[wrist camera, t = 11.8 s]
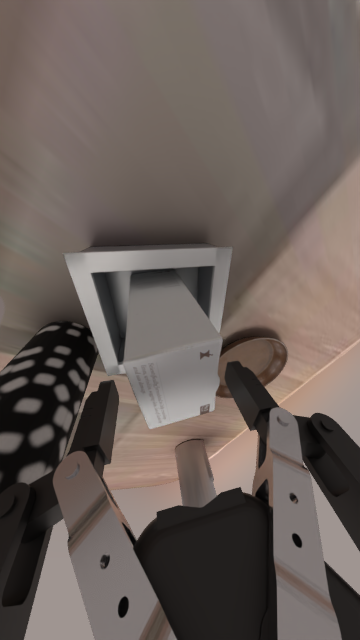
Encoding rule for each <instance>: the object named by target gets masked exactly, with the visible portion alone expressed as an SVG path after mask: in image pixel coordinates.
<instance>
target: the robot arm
mask: <svg viewBox="0 0 360 640" xmlns="http://www.w3.org/2000/svg"><path fill="white" fill-rule="evenodd" d="M224 378H225V382H226V385H227V387H228V389H229V391H230V393H231V395H232V396H233V398H234V400H235V402H236V404H237V406H238V408H239V410H240V412H241V414H242V416H243V418H244V420H245V422H246V424H247V425H248V427H249V429H250V431H251V430H257V432H258V445H257V459H256V460H257V461H256V472H255V476H254V480H253V488H252V495H250V494H247V493H243V492H242V490H241V488H240V487H239V488H235V489H232V490H228V491H225V492H222V493H220V494H219V495H218V496H217V495H216V491H215V488H214V484H213V480H214V478H213V474H212V471H211V467H210V463H209V460H208V456H207V453H206V449H205V445H204V442H203V440H190V441H187V442H184V443H182V444H180V445H178V446H177V447H176V449H175V455H176V462H177V469H178V476H179V482H180V490H181V497H182V504H183V506H175V507H172V508H168V509H165V510H162V511H158V512H157V518H155V519H154V520H153V521H152V522H151V523H150V524H149V525H148V526H147V527H146V528H145V529H144V531H143V532H142V534H141V535H140V537H139V538H138V540H137V539H136V537H135V535H134V534H133V532H132V530H131V528H130V526H129V524H128V522H127V520H126V519H125V517H124V515H123V514H122V512H121V510H120V509H119V507H118V505H117V503H116V501H115V499H114V497H113V495H112V493H111V491H110V489H109V488H108V486H107V484H106V482H105V480H104V478H103V470H104V465H106V464H111V457H112V449H113V442H114V435H115V427H116V420H117V413H118V405H119V395H118V391H117V388H116V385H115V382H114V380H109V381H103V382H100V385H99V388H98V391H96V392H92V393H91V394H90V396H89V397H88V398H87V400H86V402H85V405H84V408H83V411H82V414H81V419H80V420H79V423H78V426H77V430H76V433H75V436H74V439H73V442H72V445H71V448H70V451H69V453H68V455H67V456H66V458H64V459H63V460H62V462H61V463H60V464H59V466H58V467H57V468H55V469H54V470H53V471H51V472H50V473H48V474H46V475H44V476H43V477H41V478H39V479H37V480H36V481H34V482H32V483H30V484H29V485H28V484H26V483H24V482H20V483H16V484H14V485H12V486H10V487H8V488H7V489H6V490H4V491H3V492H2V493H1V494H0V640H24V636H25V633H26V629H27V625H28V621H29V617H30V613H31V609H32V605H33V602H34V598H35V594H36V590H37V586H38V582H39V579H40V575H41V571H42V567H43V563H44V559H45V555H46V551H47V548H48V544H49V540H50V536H51V532H52V528H53V525H55V524H56V523H58V522H59V521H61V520H62V519H63V518H64V521H65V524H66V527H67V530H68V534H69V539H68V550H69V555H70V558H71V561H72V565H73V568H74V572H75V575H76V578H77V582H78V585H79V588H80V592H81V595H82V598H83V602H84V605H85V608H86V612H87V615H88V618H89V621H90V625H91V628H92V632H93V635H94V638H95V640H360V595H359V594H358V593H357V592H356V591H355V590H354V589H353V588H352V587H351V586H350V585H349V584H348V583H347V582H345V581H344V580H343V579H342V578H341V577H340V576H339V575H338V574H337V573H336V572H335V571H334V570H333V569H332V568H331V567H330V566H329V565H328V564H327V563H326V562H325V561H324V558H323V552H322V545H321V539H320V532H319V526H318V519H317V513H316V506H315V500H314V494H313V487H312V481H311V476H310V473H311V474H312V476H313V477H314V479H315V481H316V482H317V484H318V485H319V487H320V489H321V490H322V492H323V493H324V495H325V497H326V498H327V500H328V501H329V503H330V505H331V506H332V508H333V509H334V511H335V513H336V514H337V516H338V517H339V519H340V521H341V522H342V524H343V525H344V527H345V529H346V530H347V532H348V533H349V535H350V537H351V538H352V540H353V541H354V543H355V545H356V546H357V548H358V549H359V551H360V447H359V446H358V445H357V444H356V443H355V442H354V441H353V440H352V439H351V438H350V436H349V435H348V434H347V433H346V432H345V431H344V430H343V429H342V428H341V427H340V426H339V424H337V422H335V421H334V420H333V419H332V418H330V417H329V416H327V415H324V414H321V413H315V414H313V415H312V416H311V417H310V418H308V417H301V416H294V415H292V414H291V413H290V412H288V411H287V410H285V409H283V408H280V407H279V406H278V405H277V403H276V402H275V401H274V399H273V398H272V397H271V395H270V394H269V393H268V391H267V390H266V389H265V387H264V386H263V385H262V383H261V382H260V381H259V379H258V378H257V377H256V375H255V374H254V372H253V371H251V370H250V369H249V368H247V367H243V366H242V365H241V363H240V362H239V361H232V362H228V363H227V366H226V371H225V376H224ZM303 461H304V463H305V465H306V466H307V468H308V469H309V471H310V473H309V471H308V469H307V468H305V467H304V465H303Z"/></svg>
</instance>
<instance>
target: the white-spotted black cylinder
mask: <svg viewBox="0 0 360 640" xmlns="http://www.w3.org/2000/svg"><path fill="white" fill-rule="evenodd" d="M98 352H99V351H98V348H97V345H96V342H95V340H94V337H93V334H92V332H91V330H89V329H88V328H86V327H84V326H82V325H80V324H77V323H73V322H54V323H50V324H48V325H46V326H44V327H43V328H42V329H41V330H40V331H39V332H38V333H37V334H36V335H35V336H34V337H33V338H32V339H31V340H30V341H29V342H28V343H27V344H26V345H25V346H24V348H23V349H22V350H21V351H20V352H19V353H18V354H17V355H16V356H15V357H14V358H13V359H12V360H11V361H10V362H9V363H8V364H7V366H6V367H5V368H4V369H3V370H2V371H1V372H0V494H1V493H2V492H3V491H4V490H6V489H7V488H8V487H10V486H12V485H14V484H16V483H20V482H24V483H26V484H28V485H29V484H30V483H32V482H34V481H36V480H37V479H39V478H41V477H43V476H44V475H46V474H48V473H50V472H51V471H53V470H54V469H55V468H57V467H58V466H59V464H60V463H61V462H62V459H63V456H64V453H65V450H66V447H67V444H68V441H69V438H70V436H71V433H72V430H73V427H74V424H75V421H76V418H77V415H78V412H79V409H80V406H81V403H82V400H83V397H84V394H85V391H86V388H87V385H88V382H89V379H90V376H91V373H92V370H93V367H94V364H95V361H96V358H97V355H98Z"/></svg>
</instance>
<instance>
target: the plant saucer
mask: <svg viewBox="0 0 360 640" xmlns="http://www.w3.org/2000/svg"><path fill="white" fill-rule="evenodd" d="M287 359H288V350H287V347H286V346H285V345H284V343H282V342H281V341H279V340H277V339H273V338H269V337H248V338H244V339H240V340H238V341H235V342H233V343H231V344H230V345H228V346H226V347H225V348H224V349H223V350H221V352H220V357H219V365H218V376H219V378H220V383H219V387H218V389H217V391H216V396H218V397H221V398H233V396H232V395H231V393H230V391H229V389H228V387H227V385H226V382H225V378H224V376H225V371H226V366H227V363H228V362H232V361H239V362H240V363H241V365H242V366H243V367H247V368H249V369H250V370H251V371H253V372H254V374H255V375H256V377H257V378H258V379H259V381H260V382H261V383H262V385H263V386H264V387H265V386H266V385H268V384H269V383H270V382H272V381H273V380H274V379H275V378H276V377H277V376H278V375H279V374H280V373H281V371H282V370H283V368H284V367H285V365H286V362H287Z"/></svg>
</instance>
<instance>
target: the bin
mask: <svg viewBox="0 0 360 640" xmlns="http://www.w3.org/2000/svg"><path fill="white" fill-rule="evenodd" d="M232 249H233V247H216V246H213V245H210V244H207V243H196V244H164V245H132V246H101V247H89V248H87V249H85V250H83V251H81V252H68V253H63V255H64V258H65V261H66V263H67V266H68V269H69V272H70V274H71V277H72V280H73V282H74V285H75V288H76V291H77V293H78V296H79V299H80V302H81V304H82V307H83V310H84V312H85V315H86V318H87V321H88V323H89V326H90V329H91V332H92V334H93V337H94V340H95V342H96V345H97V348H98V351H99V353H100V356H101V359H102V362H103V364H104V367H105V370H106V372H107V375H108V376H110V375H117V374H123V373H126V371H125V369H124V366H123V360H124V350H125V340H126V328H127V315H128V301H129V290H130V276H131V275H133V274H140V273H148V272H156V271H163V270H171V269H174V270H175V271H176V273H177V274H178V275H179V277H180V278H181V280H182V281H183V283H184V284H185V286H186V287H187V288H188V290H189V291H190V293H191V294H192V296H193V297H194V298H195V300H196V301H197V303H198V304H199V306H200V307H201V309H202V310H203V311H204V313H205V314H206V316H207V317H208V319H209V320H210V321H211V323H212V324H213V326H214V327H215V329H216V330H217V331H218V333H219V334H220V328H221V321H222V315H223V308H224V302H225V295H226V289H227V282H228V275H229V269H230V262H231V256H232Z"/></svg>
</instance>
